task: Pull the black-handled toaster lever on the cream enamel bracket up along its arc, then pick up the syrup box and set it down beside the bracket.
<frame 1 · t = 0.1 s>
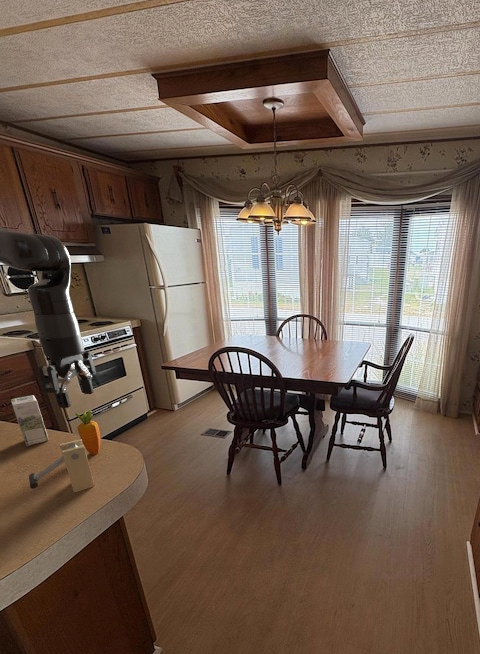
hand: (77, 400, 82), 24 cm above the table, tool pointing down, fingers open, 8 cm apart
carrot: (95, 457, 102), on the table
lever: (55, 465, 82), point 9 cm above the table, hinge at -28.0°
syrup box: (37, 441, 109), on the table
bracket: (84, 488, 88), on the table
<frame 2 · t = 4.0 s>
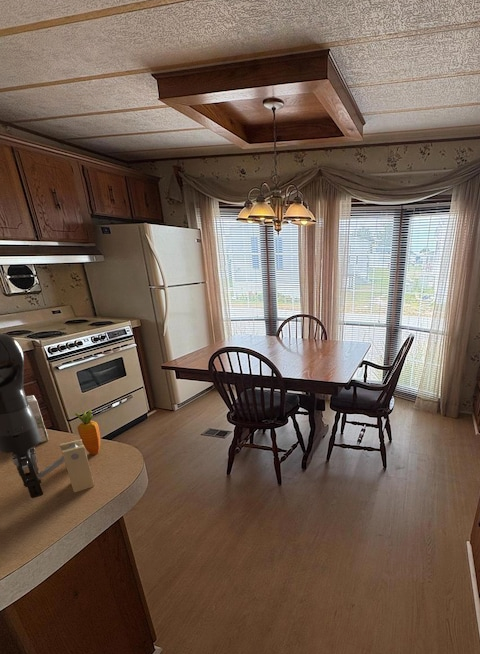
hand: (36, 489, 81), 4 cm above the table, tool pointing down, fingers closed on lever, 5 cm apart
lever: (55, 465, 82), point 9 cm above the table, hinge at -28.0°, touching gripper
everything else where it was.
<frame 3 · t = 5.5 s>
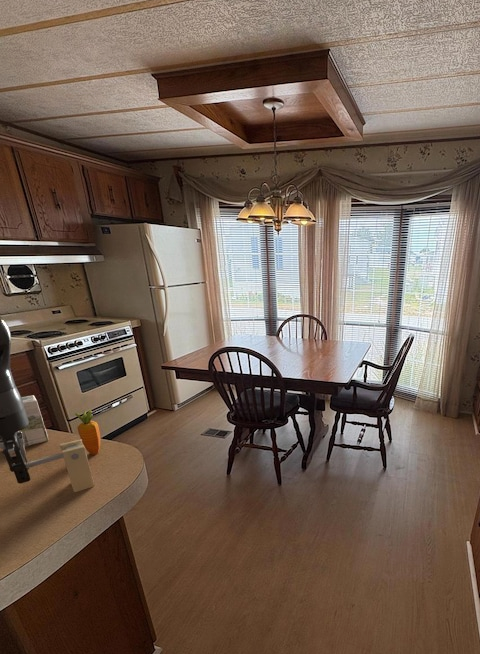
hand: (24, 475, 79), 8 cm above the table, tool pointing down, fingers closed on lever, 5 cm apart
lever: (50, 458, 81), point 11 cm above the table, hinge at -2.2°, touching gripper
everything else where it was.
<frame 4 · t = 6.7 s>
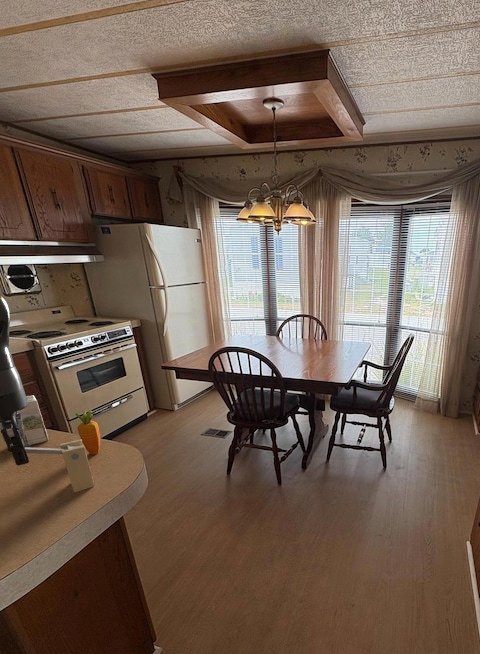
hand: (22, 457, 78), 13 cm above the table, tool pointing down, fingers closed on lever, 5 cm apart
lever: (49, 451, 81), point 13 cm above the table, hinge at 22.6°, touching gripper
everything else where it was.
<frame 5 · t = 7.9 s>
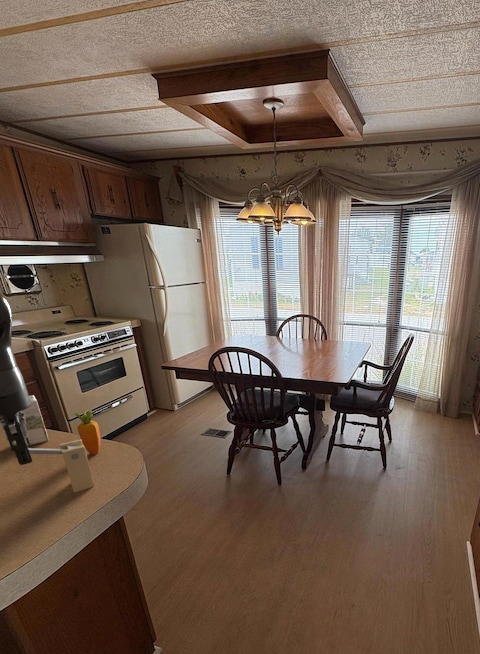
hand: (25, 454, 78), 13 cm above the table, tool pointing down, fingers open, 8 cm apart
lever: (49, 451, 81), point 13 cm above the table, hinge at 21.3°
everything else where it was.
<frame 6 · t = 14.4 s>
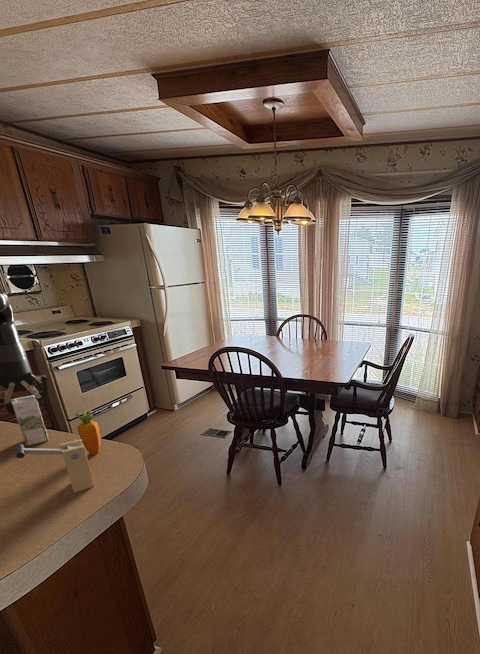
hand: (27, 410, 105), 11 cm above the table, tool pointing down, fingers closed on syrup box, 6 cm apart
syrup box: (37, 441, 109), on the table, touching gripper
everything else where it was.
when the fingers open (11 cm above the table, at t = 22.7 s): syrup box stays where it is, on the table.
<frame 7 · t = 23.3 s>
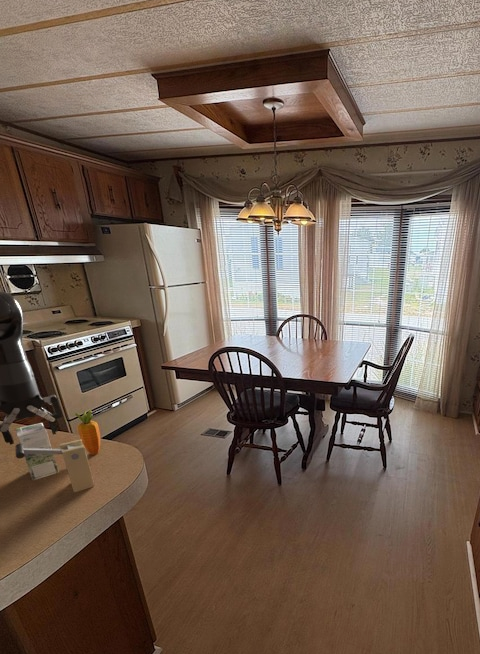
hand: (33, 438, 88), 12 cm above the table, tool pointing down, fingers open, 8 cm apart
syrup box: (46, 476, 93), on the table
everything else where it was.
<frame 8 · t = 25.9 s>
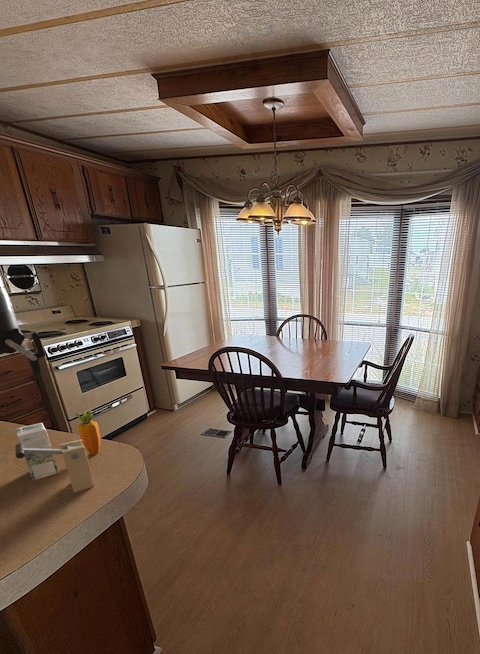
hand: (13, 377, 82), 28 cm above the table, tool pointing down, fingers open, 8 cm apart
nothing on the table moved.
at the end: lever at +21° (first picture: -28°); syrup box 0.1 cm from the target spot on the table beside the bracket, on the table; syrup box tilted 0° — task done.
